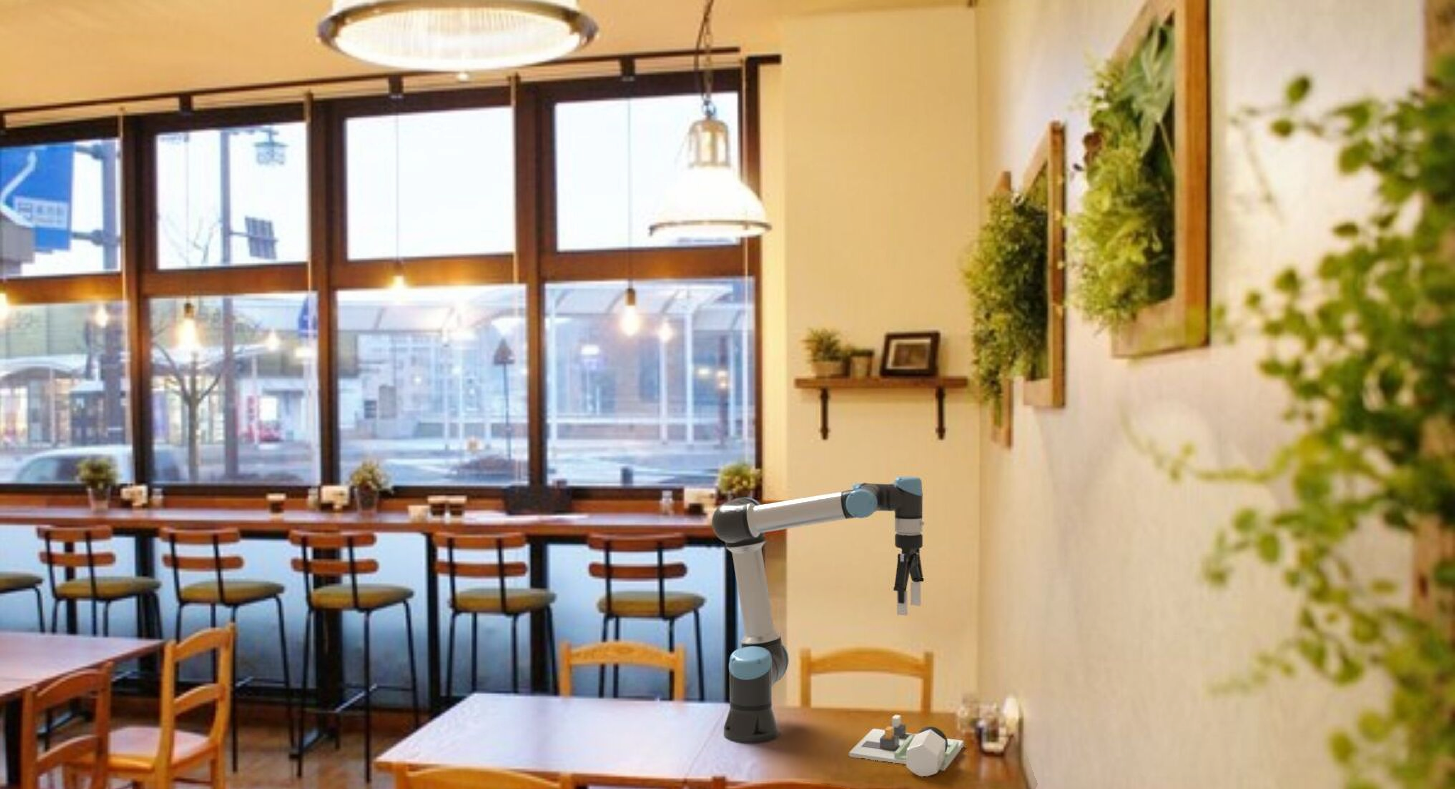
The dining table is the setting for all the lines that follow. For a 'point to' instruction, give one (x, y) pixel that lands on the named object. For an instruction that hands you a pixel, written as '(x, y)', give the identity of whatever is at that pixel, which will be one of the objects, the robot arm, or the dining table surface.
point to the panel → (897, 749)
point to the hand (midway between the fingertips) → (909, 609)
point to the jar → (926, 751)
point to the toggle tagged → (889, 739)
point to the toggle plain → (898, 726)
